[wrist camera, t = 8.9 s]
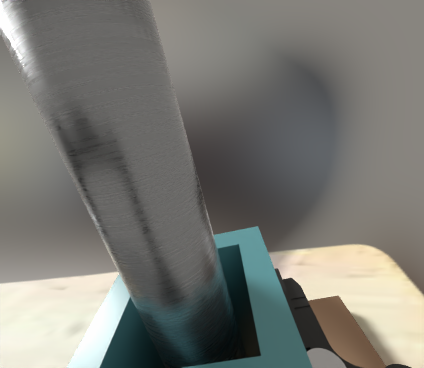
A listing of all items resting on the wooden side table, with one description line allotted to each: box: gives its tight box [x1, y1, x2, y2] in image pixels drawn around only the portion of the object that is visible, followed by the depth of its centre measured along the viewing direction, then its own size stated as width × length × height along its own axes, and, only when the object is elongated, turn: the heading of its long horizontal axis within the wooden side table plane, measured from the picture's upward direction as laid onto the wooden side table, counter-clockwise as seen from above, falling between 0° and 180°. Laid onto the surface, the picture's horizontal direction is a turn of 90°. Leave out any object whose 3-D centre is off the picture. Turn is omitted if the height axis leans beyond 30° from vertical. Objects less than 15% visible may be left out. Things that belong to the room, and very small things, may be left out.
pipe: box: [0, 0, 247, 368], centre depth 6 cm, size 3×3×24 cm
